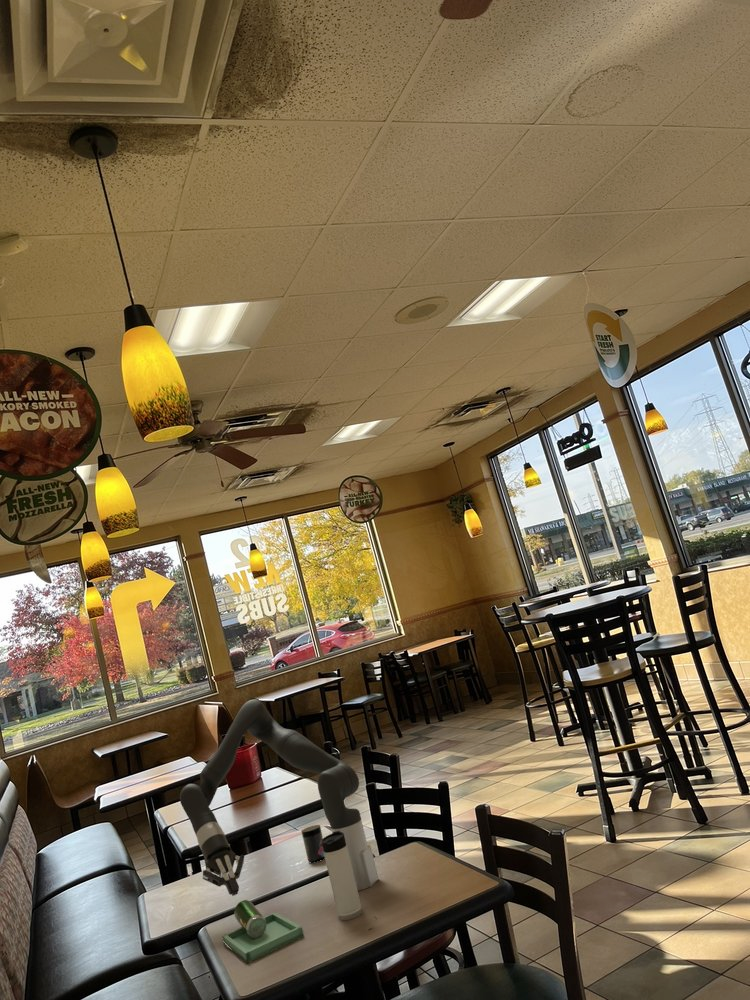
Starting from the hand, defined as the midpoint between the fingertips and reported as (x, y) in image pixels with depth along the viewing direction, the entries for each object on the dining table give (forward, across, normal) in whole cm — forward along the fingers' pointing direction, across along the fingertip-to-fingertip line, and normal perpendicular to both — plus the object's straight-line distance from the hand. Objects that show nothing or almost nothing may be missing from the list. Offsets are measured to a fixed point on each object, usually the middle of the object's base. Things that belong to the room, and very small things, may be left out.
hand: (235, 893), depth 201 cm
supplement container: (-17, -39, -32) cm, 53 cm away
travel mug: (+26, -21, +12) cm, 35 cm away
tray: (+17, 0, +4) cm, 18 cm away
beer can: (+5, 0, -1) cm, 5 cm away
